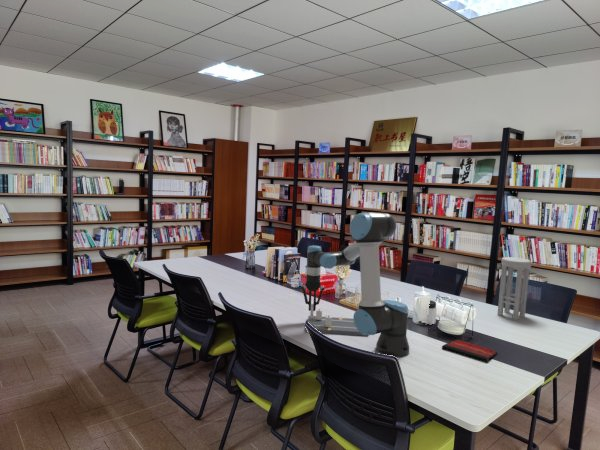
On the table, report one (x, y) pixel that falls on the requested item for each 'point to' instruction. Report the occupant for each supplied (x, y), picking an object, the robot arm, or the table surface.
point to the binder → (470, 350)
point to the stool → (520, 264)
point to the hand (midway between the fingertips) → (311, 316)
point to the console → (335, 326)
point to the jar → (431, 313)
